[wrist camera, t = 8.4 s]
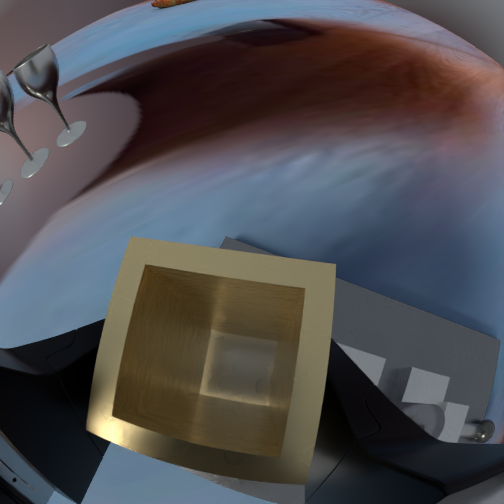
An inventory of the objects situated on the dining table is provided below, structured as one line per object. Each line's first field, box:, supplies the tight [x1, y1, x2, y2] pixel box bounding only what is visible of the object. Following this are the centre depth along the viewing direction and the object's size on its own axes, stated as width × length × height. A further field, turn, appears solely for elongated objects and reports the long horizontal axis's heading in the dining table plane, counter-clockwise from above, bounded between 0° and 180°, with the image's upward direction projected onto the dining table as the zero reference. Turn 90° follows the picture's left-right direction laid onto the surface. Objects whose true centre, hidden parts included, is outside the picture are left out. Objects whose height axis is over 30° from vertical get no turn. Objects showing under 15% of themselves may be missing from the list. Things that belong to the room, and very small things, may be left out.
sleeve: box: [86, 237, 336, 485], centre depth 9 cm, size 5×5×9 cm
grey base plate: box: [177, 237, 500, 504], centre depth 11 cm, size 14×23×7 cm, turn 67°
